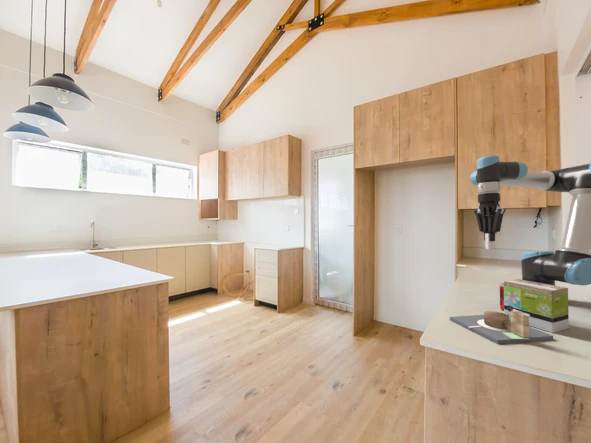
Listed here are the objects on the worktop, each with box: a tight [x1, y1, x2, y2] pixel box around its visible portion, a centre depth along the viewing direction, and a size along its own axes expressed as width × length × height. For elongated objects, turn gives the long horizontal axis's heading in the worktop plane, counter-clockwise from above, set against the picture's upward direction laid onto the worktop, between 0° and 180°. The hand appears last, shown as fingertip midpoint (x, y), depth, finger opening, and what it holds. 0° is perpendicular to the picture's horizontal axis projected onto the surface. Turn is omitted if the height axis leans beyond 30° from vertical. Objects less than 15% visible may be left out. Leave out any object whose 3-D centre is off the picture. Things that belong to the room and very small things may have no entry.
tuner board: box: [449, 314, 554, 345], centre depth 89 cm, size 21×21×1 cm
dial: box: [483, 309, 530, 337], centre depth 85 cm, size 15×7×8 cm, turn 5°
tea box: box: [503, 278, 570, 334], centre depth 94 cm, size 15×10×15 cm, turn 21°
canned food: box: [499, 282, 504, 312], centre depth 107 cm, size 8×8×11 cm
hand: (489, 248), depth 107 cm, fingers closed
